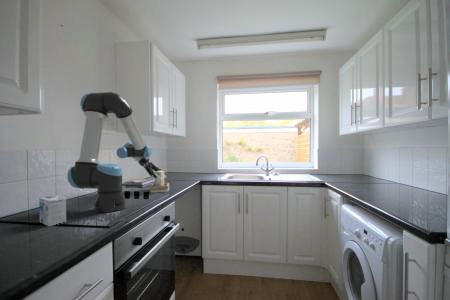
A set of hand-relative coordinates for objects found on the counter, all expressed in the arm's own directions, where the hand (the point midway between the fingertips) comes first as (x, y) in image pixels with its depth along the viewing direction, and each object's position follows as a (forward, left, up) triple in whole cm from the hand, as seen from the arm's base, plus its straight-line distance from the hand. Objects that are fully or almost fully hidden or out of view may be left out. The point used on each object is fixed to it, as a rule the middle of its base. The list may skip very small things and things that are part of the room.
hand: (162, 179), depth 170 cm
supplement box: (0, +2, -7) cm, 8 cm away
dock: (0, +2, -8) cm, 9 cm away
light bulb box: (-63, +41, -8) cm, 76 cm away
